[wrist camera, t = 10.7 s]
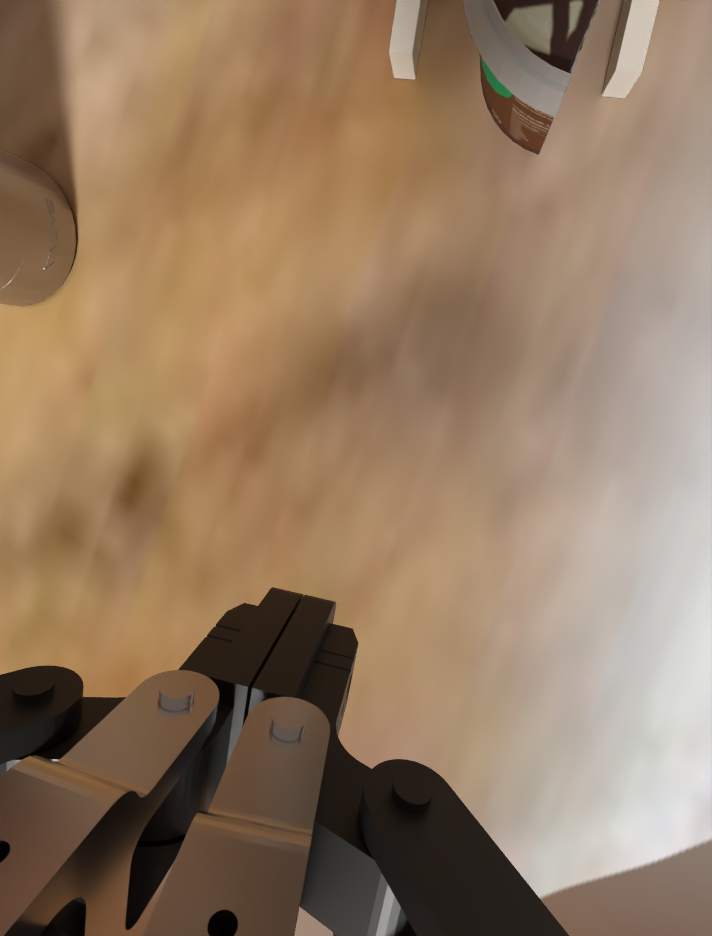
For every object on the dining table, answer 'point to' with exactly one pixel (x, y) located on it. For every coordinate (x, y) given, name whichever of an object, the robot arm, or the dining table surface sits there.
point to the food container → (527, 59)
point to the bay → (622, 62)
